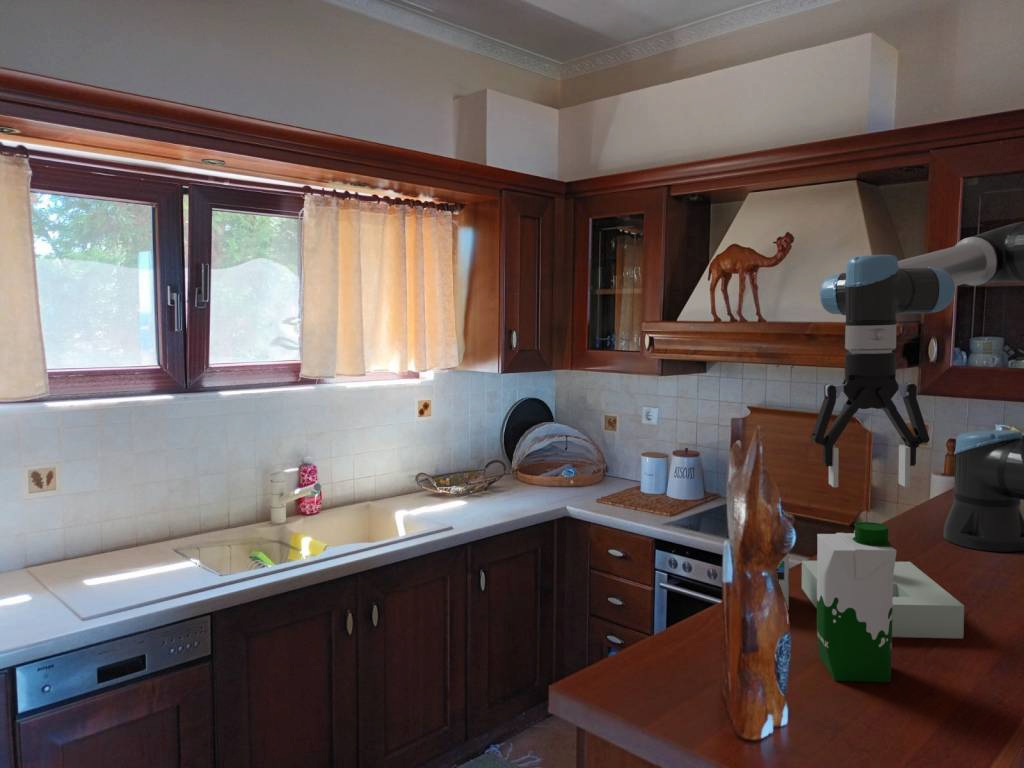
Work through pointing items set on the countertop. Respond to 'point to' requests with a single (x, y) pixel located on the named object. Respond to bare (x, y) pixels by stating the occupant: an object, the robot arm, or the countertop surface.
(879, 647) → the milk carton
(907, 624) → the board
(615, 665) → the countertop surface
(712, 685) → the countertop surface
